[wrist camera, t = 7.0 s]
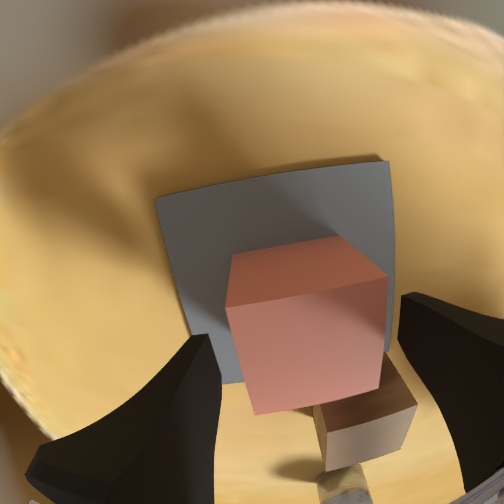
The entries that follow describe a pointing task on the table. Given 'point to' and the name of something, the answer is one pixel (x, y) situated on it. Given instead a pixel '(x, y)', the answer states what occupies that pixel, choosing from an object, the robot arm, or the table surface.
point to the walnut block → (365, 421)
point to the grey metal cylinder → (343, 486)
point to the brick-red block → (307, 323)
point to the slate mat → (271, 235)
